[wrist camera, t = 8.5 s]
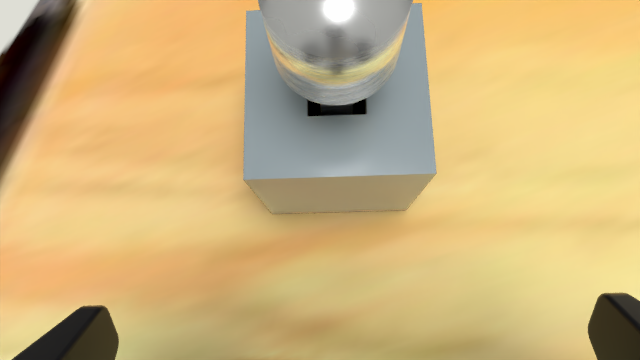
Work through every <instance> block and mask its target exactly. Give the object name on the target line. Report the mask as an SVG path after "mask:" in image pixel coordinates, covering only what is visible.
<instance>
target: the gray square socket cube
mask: <svg viewBox="0 0 640 360" xmlns="http://www.w3.org/2000/svg"><path fill="white" fill-rule="evenodd" d="M365 112H366V114H361V115H334V116H308V99H305V98H304V97H302V96H300V95H298V94H297V93H296V92H294V91H293V90H292V89H291V88H290V87H289V86H288V85H287V84H286V83H285V82H284V80H283V79H282V78H281V76H280V74H279V72H278V70H277V67H276V65H275V61H274V58H273V54H272V50H271V47H270V43H269V40H268V36H267V32H266V29H265V25H264V21H263V18H262V14H261V10H256V11H246V63H245V121H244V179H243V180H244V181H245V182H246V183H247V185H248V186H249V187H250V188H251V189H252V190H253V192H254V193H255V194H256V195H257V196H258V198H259V199H260V200H261V201H262V202H263V204H264V205H265V206H266V207H267V208H268V210H269V211H270V212H271V213H272V214H291V213H324V212H357V211H391V210H407V209H408V207H409V206H410V205H411V204H412V203H413V201H414V200H415V199H416V198H417V196H418V195H419V194H420V193H421V192H422V190H423V189H424V188H425V187H426V186H427V184H428V183H429V182H430V181H431V179H432V178H433V177H434V176H435V175H436V163H435V152H434V141H433V129H432V118H431V106H430V95H429V84H428V72H427V61H426V49H425V38H424V26H423V15H422V4H421V3H414V4H412V6H411V10H410V13H409V17H408V21H407V25H406V29H405V33H404V37H403V41H402V45H401V49H400V53H399V57H398V60H397V64H396V67H395V69H394V71H393V73H392V75H391V76H390V78H389V79H388V81H387V82H386V83H385V84H384V85H383V86H382V87H381V88H380V89H379V90H378V91H377V92H375V93H374V94H372V95H371V96H369V97H367V98H365Z"/></svg>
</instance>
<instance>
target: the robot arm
mask: <svg viewBox="0 0 640 360" xmlns="http://www.w3.org/2000/svg"><path fill="white" fill-rule="evenodd" d="M588 335H589V338H590V341H591V344H592V347H593V349H594V352H595V354H596V357H597V360H640V301H639V300H637V299H636V298H634V297H632V296H631V295H629V294H626V293H604V294H601V295H600V296H599V297H598V299H597V302H596V304H595V307H594V310H593V313H592V316H591V318H590V321H589V324H588ZM118 343H119V339H118V334H117V331H116V329H115V326H114V324H113V321H112V318H111V316H110V313H109V311H108V309H107V308H106V307H105V306H102V305H99V306H83V307H80V308H79V309H77V310H76V311H75V312H73V313H72V314H71V315H69V316H68V317H67V318H65V319H64V320H63V321H62V322H60V323H59V324H58V325H56V326H55V327H54V328H52V329H51V330H50V331H48V332H47V333H46V334H45V335H43V336H42V337H41V338H39V339H38V340H37V341H35V342H34V343H33V344H31V345H30V346H29V347H27V348H26V349H25V350H24V351H22V352H21V353H20V354H18V355H17V356H16V357H14V358H13V359H12V360H115V357H116V353H117V349H118Z"/></svg>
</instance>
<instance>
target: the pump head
mask: <svg viewBox="0 0 640 360" xmlns="http://www.w3.org/2000/svg"><path fill="white" fill-rule="evenodd" d="M258 2H259V7H260V10H261V14H262V18H263V21H264V25H265V29H266V32H267V36H268V40H269V43H270V47H271V50H272V54H273V58H274V61H275V65H276V67H277V70H278V72H279V74H280V76H281V78H282V79H283V80H284V82H285V83H286V84H287V85H288V86H289V87H290V88H291V89H292V90H293V91H294V92H296V93H297V94H298V95H300V96H302V97H304V98H305V99H308V100H310V101H312V102H316V103H320V107H321V116H334V115H352V112H353V103H355V102H358V101H361V100H363V99H365V98H367V97H369V96H371V95H372V94H374V93H375V92H377V91H378V90H379V89H380V88H381V87H382V86H383V85H384V84H385V83H386V82H387V81H388V79H389V78H390V76H391V75H392V73H393V71H394V69H395V67H396V64H397V60H398V57H399V53H400V49H401V45H402V41H403V37H404V33H405V29H406V25H407V21H408V17H409V13H410V10H411V6H412V2H413V0H258Z"/></svg>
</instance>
